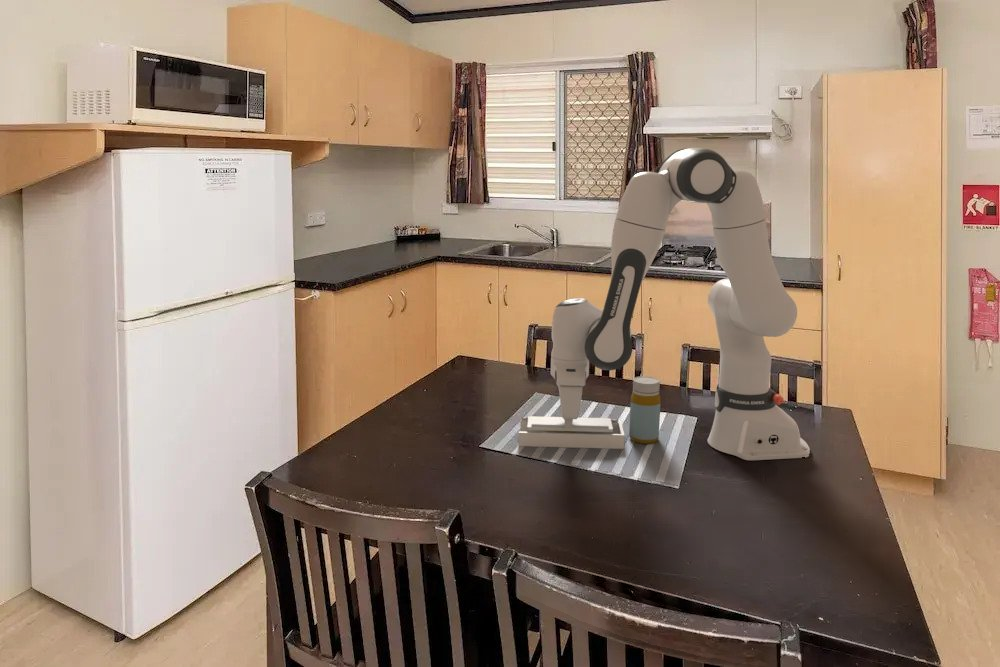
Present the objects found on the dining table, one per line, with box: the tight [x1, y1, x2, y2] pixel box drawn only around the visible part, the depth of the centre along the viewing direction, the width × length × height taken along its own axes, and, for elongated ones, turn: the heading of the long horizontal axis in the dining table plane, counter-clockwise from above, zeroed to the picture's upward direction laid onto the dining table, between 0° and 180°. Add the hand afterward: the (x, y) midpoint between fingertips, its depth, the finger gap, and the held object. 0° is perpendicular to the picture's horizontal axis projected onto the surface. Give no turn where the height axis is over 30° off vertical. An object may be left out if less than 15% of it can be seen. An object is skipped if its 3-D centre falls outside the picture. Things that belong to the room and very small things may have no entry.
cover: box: [527, 415, 613, 432], centre depth 168 cm, size 20×8×1 cm, turn 85°
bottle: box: [628, 375, 662, 445], centre depth 168 cm, size 7×7×15 cm
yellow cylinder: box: [546, 430, 577, 433], centre depth 169 cm, size 7×3×3 cm, turn 98°
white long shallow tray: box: [518, 416, 625, 450], centre depth 169 cm, size 25×9×4 cm, turn 85°
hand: (567, 424), depth 166 cm, fingers open, 3 cm apart
